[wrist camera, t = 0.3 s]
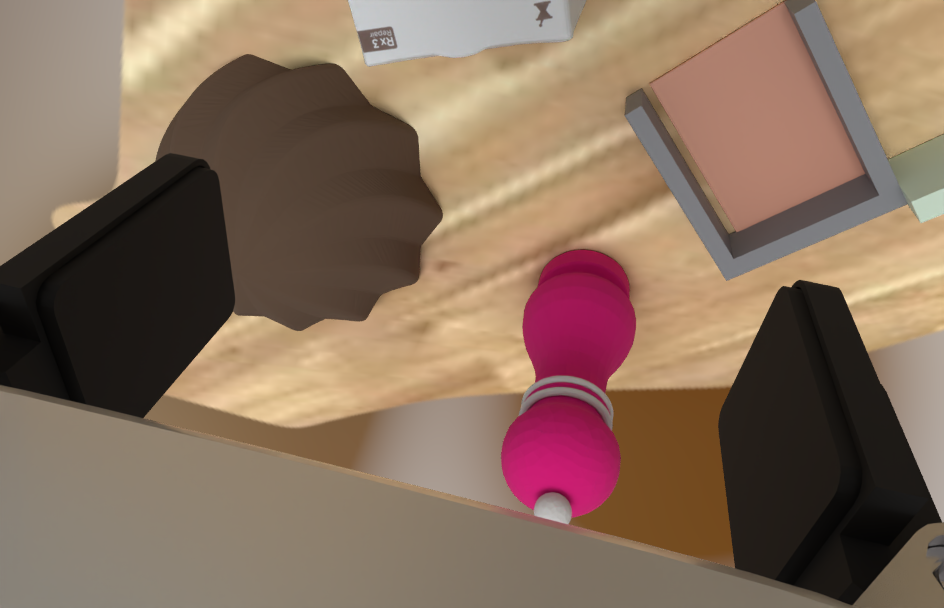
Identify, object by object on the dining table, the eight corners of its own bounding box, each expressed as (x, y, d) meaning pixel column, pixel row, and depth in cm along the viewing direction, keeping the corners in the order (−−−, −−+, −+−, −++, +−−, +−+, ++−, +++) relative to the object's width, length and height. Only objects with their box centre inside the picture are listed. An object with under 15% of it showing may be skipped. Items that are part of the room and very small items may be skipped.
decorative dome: (344, 347, 55) (292, 434, 47) (138, 186, 50) (41, 253, 42) (499, 204, 44) (467, 287, 36) (257, -19, 39) (156, 19, 31)
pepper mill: (518, 306, 48) (454, 540, 32) (555, 226, 44) (502, 452, 28) (609, 341, 48) (591, 592, 32) (655, 266, 44) (660, 513, 28)
